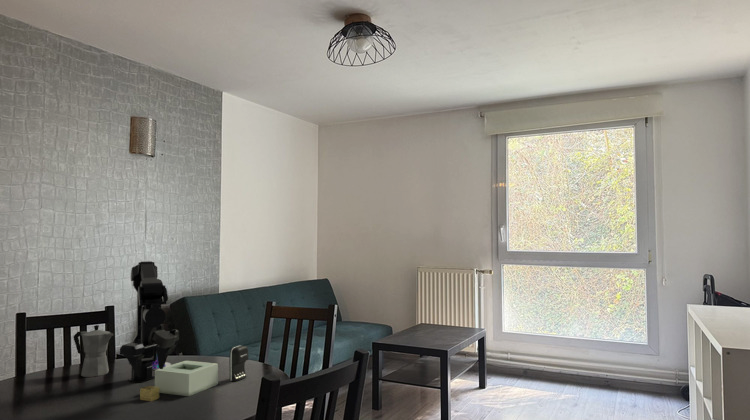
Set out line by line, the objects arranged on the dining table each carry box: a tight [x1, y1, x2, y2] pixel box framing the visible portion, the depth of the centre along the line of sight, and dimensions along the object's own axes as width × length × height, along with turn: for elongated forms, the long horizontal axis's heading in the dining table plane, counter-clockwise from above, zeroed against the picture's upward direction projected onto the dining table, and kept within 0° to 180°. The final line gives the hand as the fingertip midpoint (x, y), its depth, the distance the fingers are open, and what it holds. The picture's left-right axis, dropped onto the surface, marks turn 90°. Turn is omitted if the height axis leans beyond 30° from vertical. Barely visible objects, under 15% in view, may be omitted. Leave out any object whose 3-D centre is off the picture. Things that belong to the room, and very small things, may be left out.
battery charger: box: [229, 345, 249, 382], centre depth 178 cm, size 7×4×11 cm, turn 159°
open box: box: [154, 360, 219, 397], centre depth 167 cm, size 14×14×7 cm
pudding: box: [152, 358, 172, 371], centre depth 196 cm, size 12×12×5 cm
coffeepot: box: [73, 324, 114, 378], centre depth 187 cm, size 15×9×18 cm, turn 85°
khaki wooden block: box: [139, 385, 160, 402], centre depth 156 cm, size 4×3×4 cm
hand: (150, 372), depth 156 cm, fingers open, 9 cm apart
